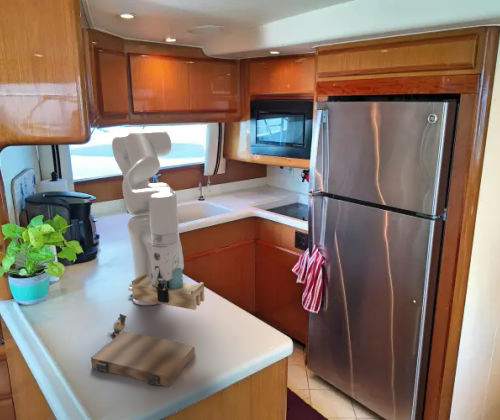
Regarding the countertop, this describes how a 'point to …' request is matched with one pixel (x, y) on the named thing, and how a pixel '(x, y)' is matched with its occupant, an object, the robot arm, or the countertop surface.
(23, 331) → the countertop surface
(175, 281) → the teal cylinder
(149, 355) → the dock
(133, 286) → the light wood long block
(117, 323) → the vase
